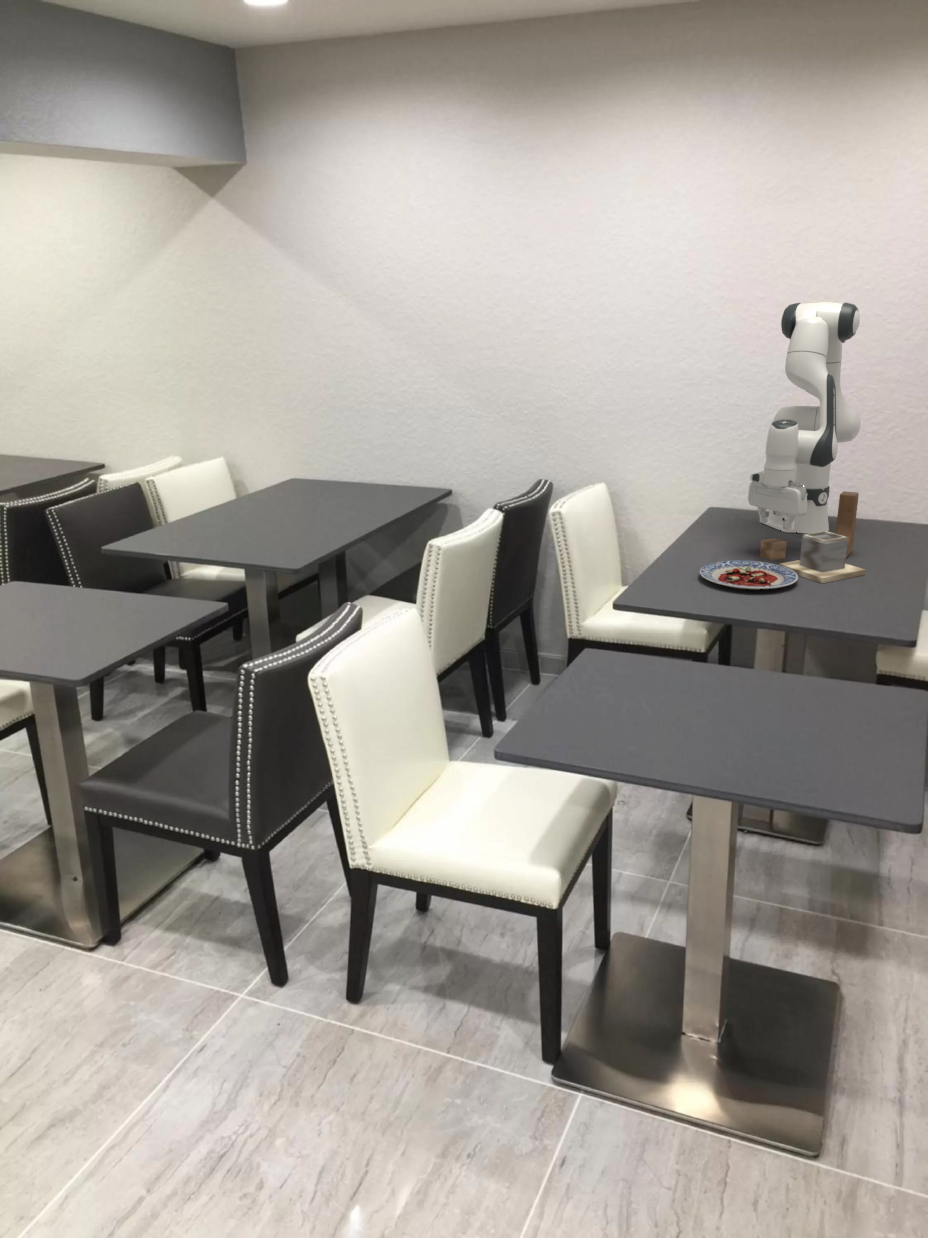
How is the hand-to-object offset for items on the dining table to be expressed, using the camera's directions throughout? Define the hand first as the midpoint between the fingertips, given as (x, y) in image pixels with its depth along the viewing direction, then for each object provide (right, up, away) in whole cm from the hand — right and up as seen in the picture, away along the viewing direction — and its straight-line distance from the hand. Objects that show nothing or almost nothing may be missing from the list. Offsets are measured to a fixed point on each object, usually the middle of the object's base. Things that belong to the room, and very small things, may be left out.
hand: (774, 525), depth 292 cm
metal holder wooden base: (+9, -14, -11) cm, 20 cm away
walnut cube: (0, -9, +4) cm, 10 cm away
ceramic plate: (-13, -17, -17) cm, 27 cm away
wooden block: (+21, -8, +5) cm, 23 cm away
